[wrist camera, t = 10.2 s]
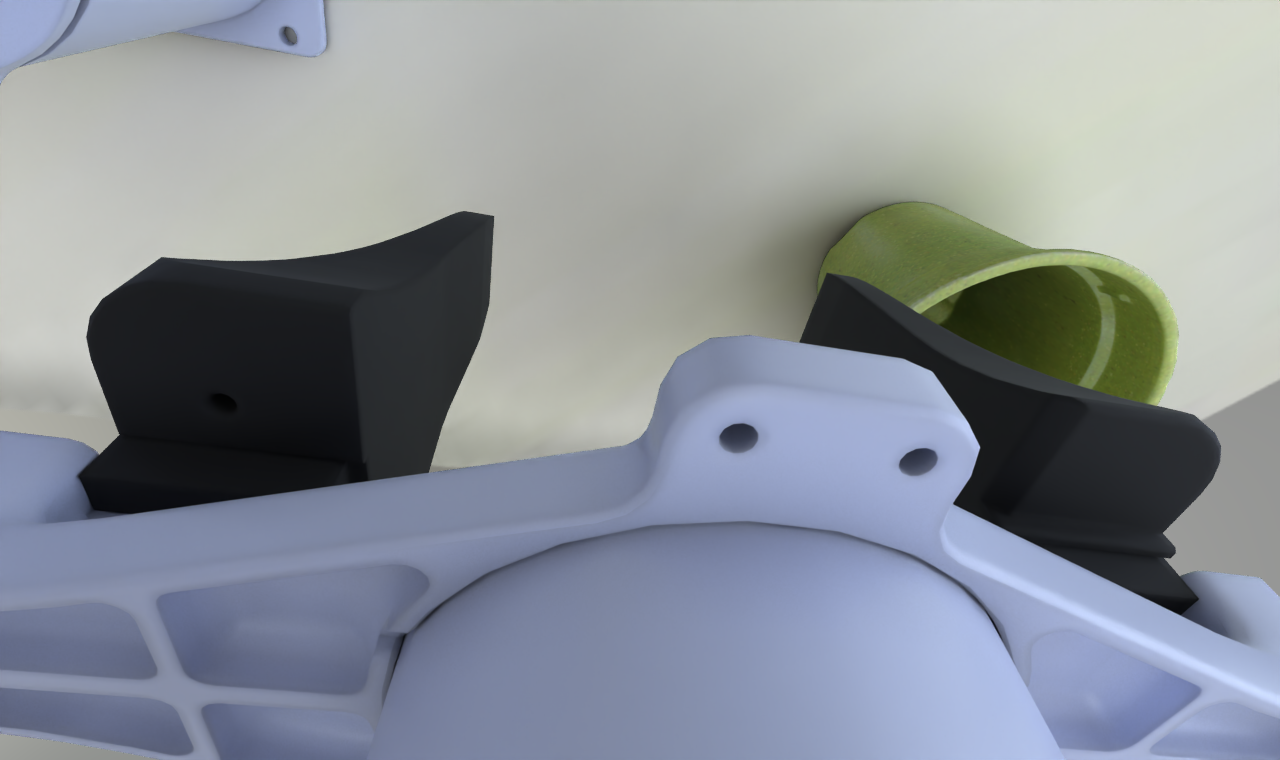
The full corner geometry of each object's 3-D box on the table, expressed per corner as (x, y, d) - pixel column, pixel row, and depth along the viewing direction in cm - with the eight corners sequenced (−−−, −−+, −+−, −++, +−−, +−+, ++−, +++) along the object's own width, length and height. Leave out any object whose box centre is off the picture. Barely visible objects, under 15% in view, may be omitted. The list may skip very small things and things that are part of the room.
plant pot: (768, 178, 23) (837, 290, 16) (1037, 130, 22) (1236, 225, 15) (778, 384, 28) (833, 536, 21) (994, 350, 27) (1125, 496, 20)
